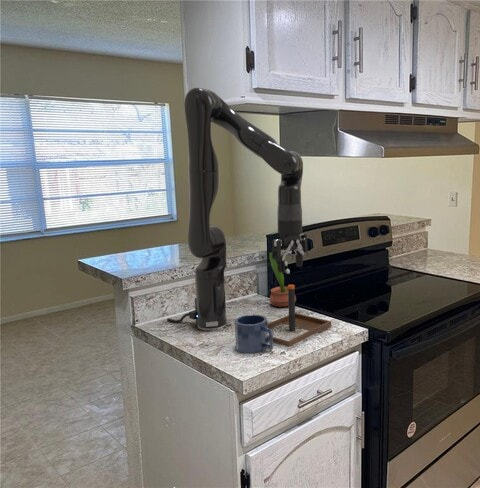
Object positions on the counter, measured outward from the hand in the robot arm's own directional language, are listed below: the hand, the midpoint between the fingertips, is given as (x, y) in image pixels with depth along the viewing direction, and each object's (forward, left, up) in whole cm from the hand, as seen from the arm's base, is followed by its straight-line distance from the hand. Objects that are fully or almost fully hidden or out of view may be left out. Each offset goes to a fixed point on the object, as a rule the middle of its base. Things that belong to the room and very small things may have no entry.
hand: (290, 269), depth 153 cm
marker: (0, 0, -20) cm, 20 cm away
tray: (0, 0, -21) cm, 21 cm away
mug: (+1, -17, -21) cm, 27 cm away
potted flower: (-21, +21, -21) cm, 36 cm away
